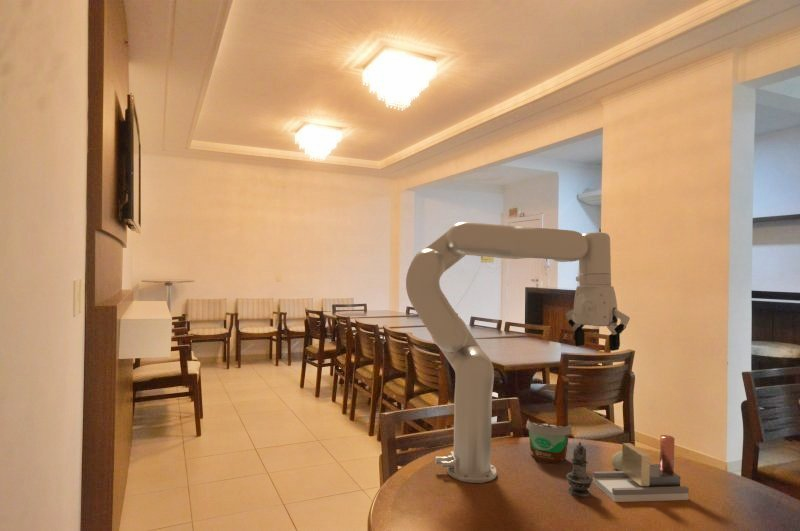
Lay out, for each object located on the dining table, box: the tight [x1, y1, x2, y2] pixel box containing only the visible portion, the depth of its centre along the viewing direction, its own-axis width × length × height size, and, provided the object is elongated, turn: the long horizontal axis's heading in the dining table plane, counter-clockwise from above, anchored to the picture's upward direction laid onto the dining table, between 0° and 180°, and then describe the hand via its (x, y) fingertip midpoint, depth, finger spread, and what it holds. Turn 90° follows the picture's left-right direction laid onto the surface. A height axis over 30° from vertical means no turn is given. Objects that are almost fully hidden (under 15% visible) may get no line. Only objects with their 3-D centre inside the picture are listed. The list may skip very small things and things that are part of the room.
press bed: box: [592, 470, 690, 503], centre depth 116 cm, size 18×10×3 cm, turn 96°
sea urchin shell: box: [611, 449, 622, 471], centre depth 129 cm, size 9×8×8 cm
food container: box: [525, 418, 573, 465], centre depth 134 cm, size 12×6×10 cm, turn 68°
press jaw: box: [621, 434, 681, 487], centre depth 117 cm, size 10×8×11 cm
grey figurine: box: [565, 441, 593, 499], centre depth 115 cm, size 6×6×12 cm
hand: (596, 347), depth 124 cm, fingers open, 9 cm apart
